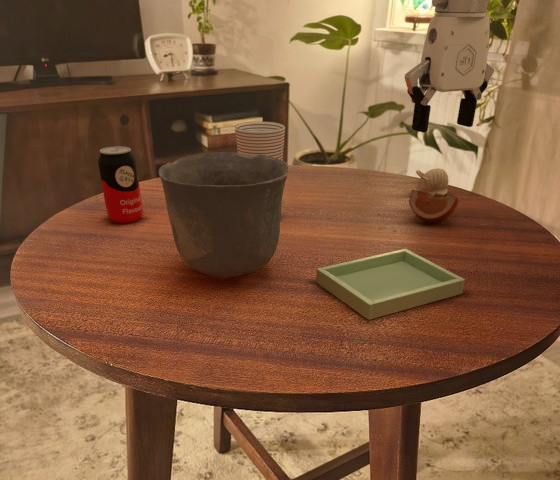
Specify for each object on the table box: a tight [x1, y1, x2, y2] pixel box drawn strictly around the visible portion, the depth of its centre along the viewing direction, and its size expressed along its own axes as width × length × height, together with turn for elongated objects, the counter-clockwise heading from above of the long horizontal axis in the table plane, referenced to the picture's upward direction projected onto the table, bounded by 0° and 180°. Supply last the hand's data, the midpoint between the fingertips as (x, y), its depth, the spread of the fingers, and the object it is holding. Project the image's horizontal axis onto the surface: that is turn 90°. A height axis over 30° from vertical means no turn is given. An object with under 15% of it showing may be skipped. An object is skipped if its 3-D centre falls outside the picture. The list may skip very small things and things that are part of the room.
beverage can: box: [97, 145, 144, 224], centre depth 99 cm, size 6×6×12 cm
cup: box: [234, 120, 286, 161], centre depth 98 cm, size 8×8×16 cm
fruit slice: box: [408, 189, 459, 224], centre depth 100 cm, size 8×7×5 cm
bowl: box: [158, 151, 290, 279], centre depth 78 cm, size 18×18×15 cm
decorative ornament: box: [415, 167, 449, 195], centre depth 112 cm, size 4×8×5 cm, turn 109°
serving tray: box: [315, 248, 466, 321], centre depth 77 cm, size 16×13×2 cm
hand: (442, 128), depth 93 cm, fingers open, 9 cm apart
